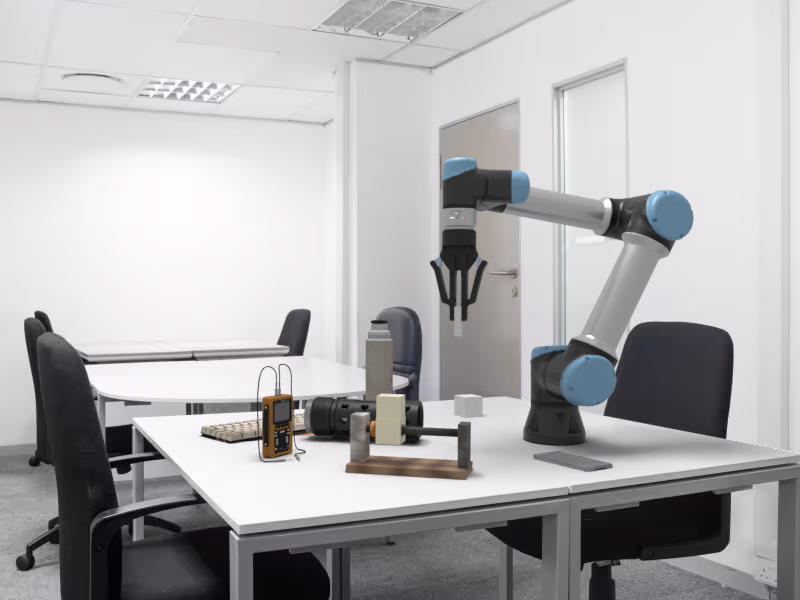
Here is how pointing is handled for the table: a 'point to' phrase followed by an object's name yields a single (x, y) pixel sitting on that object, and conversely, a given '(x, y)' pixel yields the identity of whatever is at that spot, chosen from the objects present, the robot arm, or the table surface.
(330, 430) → the muzzle brake
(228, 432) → the mechanical keyboard
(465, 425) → the twin post axle stand
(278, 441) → the multimeter
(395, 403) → the stacked cream cubes
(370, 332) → the thermos bottle
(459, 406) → the white cube
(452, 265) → the robot arm
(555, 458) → the phone
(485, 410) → the table surface
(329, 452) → the table surface
